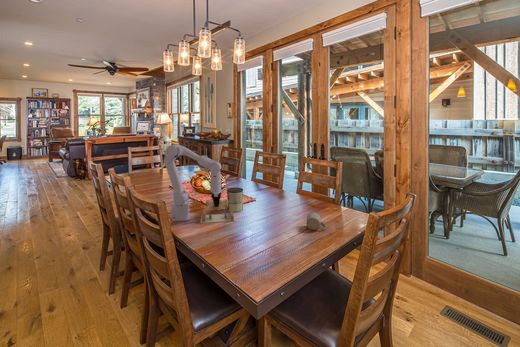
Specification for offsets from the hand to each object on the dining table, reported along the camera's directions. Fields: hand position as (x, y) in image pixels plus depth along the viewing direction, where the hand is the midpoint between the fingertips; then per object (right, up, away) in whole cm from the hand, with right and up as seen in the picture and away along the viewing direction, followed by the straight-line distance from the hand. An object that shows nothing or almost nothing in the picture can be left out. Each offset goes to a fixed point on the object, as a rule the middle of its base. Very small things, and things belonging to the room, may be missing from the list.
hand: (216, 205), depth 170 cm
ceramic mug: (+56, -11, -12) cm, 58 cm away
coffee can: (+9, -5, +19) cm, 22 cm away
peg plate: (0, -8, +3) cm, 8 cm away
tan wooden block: (0, -2, 0) cm, 2 cm away
